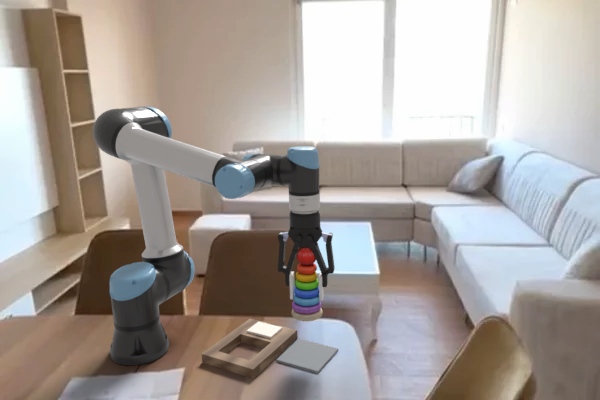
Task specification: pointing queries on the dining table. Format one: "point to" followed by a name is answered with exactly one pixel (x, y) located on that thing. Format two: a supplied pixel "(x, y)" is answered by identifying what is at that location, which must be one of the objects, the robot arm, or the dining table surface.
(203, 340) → the dining table surface
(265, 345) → the walnut puzzle board
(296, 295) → the stacking toy
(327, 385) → the dining table surface
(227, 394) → the dining table surface
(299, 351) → the gray square plate
